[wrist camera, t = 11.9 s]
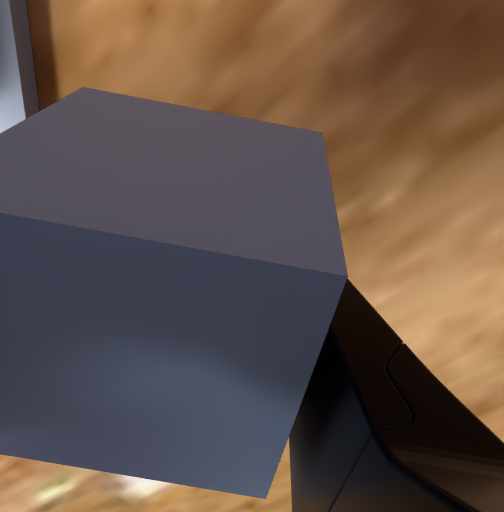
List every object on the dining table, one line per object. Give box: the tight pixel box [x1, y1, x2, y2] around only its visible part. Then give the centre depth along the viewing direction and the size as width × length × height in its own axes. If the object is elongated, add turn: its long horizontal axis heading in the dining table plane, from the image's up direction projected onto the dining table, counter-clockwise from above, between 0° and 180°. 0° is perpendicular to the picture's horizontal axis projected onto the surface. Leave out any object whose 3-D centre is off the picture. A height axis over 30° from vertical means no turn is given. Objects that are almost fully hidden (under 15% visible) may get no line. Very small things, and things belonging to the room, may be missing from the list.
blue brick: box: [0, 87, 348, 499], centre depth 8 cm, size 5×5×5 cm
